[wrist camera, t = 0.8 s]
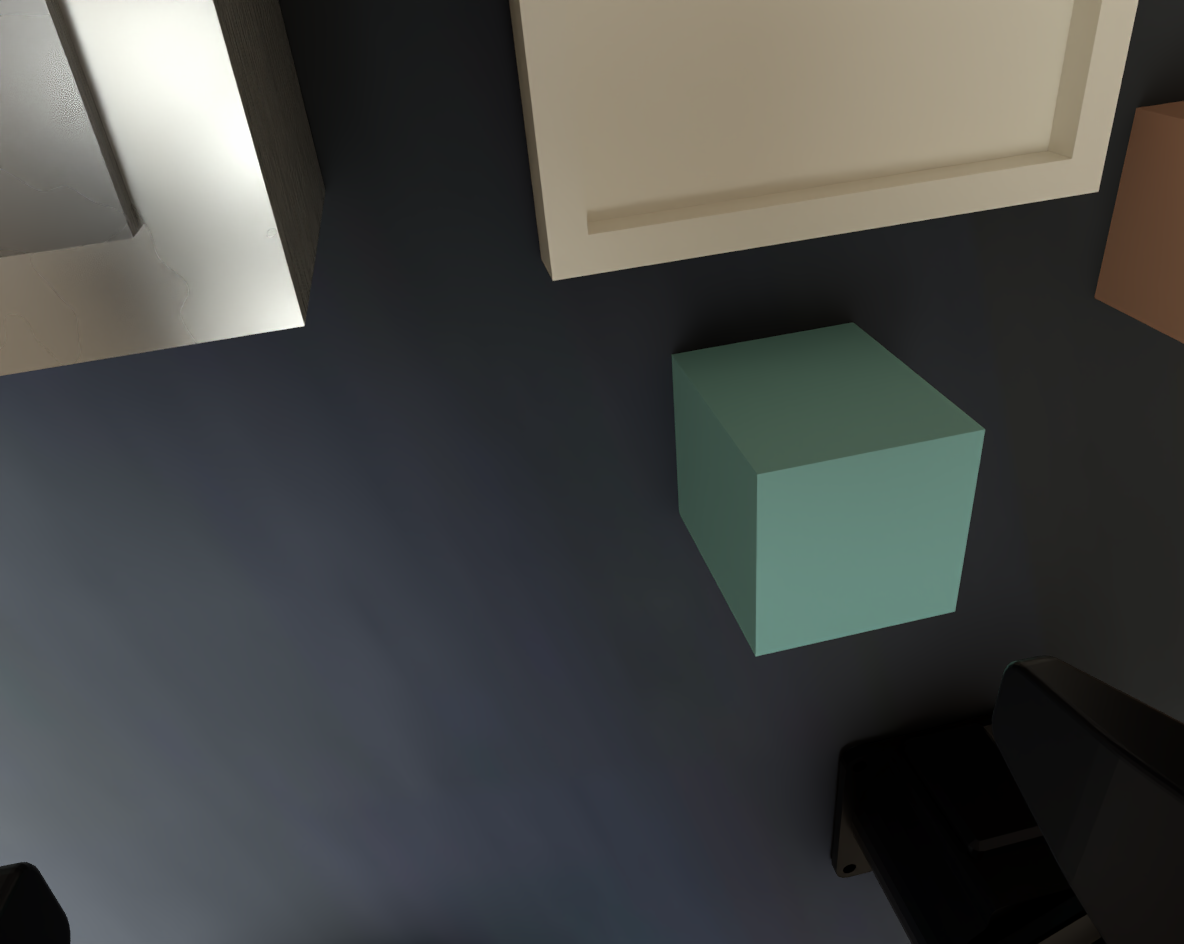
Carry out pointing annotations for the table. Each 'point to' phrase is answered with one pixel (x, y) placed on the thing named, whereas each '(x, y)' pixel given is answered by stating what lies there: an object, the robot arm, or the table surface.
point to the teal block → (822, 484)
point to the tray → (802, 117)
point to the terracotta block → (1149, 224)
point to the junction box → (150, 178)
